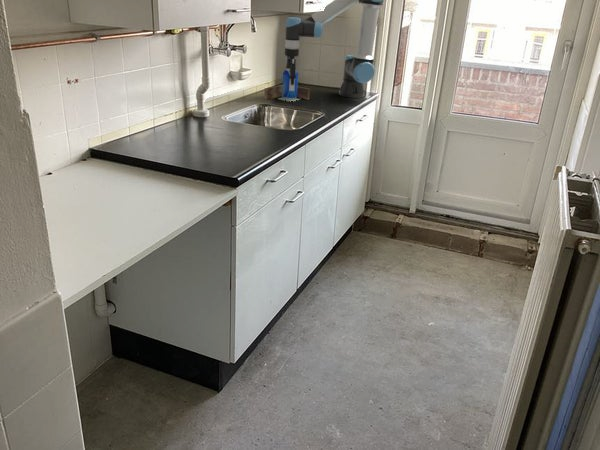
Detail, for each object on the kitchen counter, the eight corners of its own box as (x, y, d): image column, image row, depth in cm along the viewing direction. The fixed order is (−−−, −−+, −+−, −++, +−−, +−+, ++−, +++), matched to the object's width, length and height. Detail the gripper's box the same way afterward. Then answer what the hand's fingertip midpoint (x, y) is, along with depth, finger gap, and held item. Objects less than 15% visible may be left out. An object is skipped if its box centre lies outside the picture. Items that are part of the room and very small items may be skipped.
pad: (287, 96, 304) (287, 96, 303) (300, 99, 299) (300, 99, 299) (278, 99, 297) (278, 98, 297) (290, 101, 292) (290, 101, 292)
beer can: (298, 100, 295) (300, 70, 289) (284, 100, 293) (285, 70, 286) (294, 97, 303) (295, 68, 296) (280, 97, 300) (281, 68, 293)
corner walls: (285, 94, 309) (286, 83, 307) (309, 99, 301) (309, 88, 298) (264, 99, 294) (264, 88, 292) (287, 104, 286) (288, 93, 283)
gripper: (281, 44, 297) (280, 83, 306) (288, 51, 274) (286, 92, 284) (295, 45, 298) (293, 83, 307) (302, 51, 276) (300, 92, 285)
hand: (289, 88), depth 295 cm, fingers open, 13 cm apart
